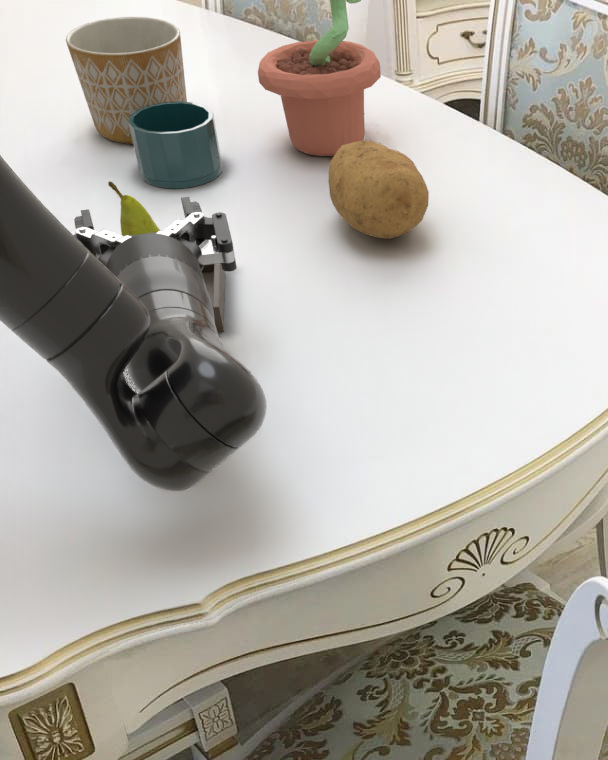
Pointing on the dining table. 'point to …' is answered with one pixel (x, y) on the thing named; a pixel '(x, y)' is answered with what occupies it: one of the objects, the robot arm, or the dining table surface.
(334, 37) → the decorative flower
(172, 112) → the cup
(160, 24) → the planter
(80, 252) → the robot arm
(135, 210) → the fruit
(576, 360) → the dining table surface
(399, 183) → the potato
